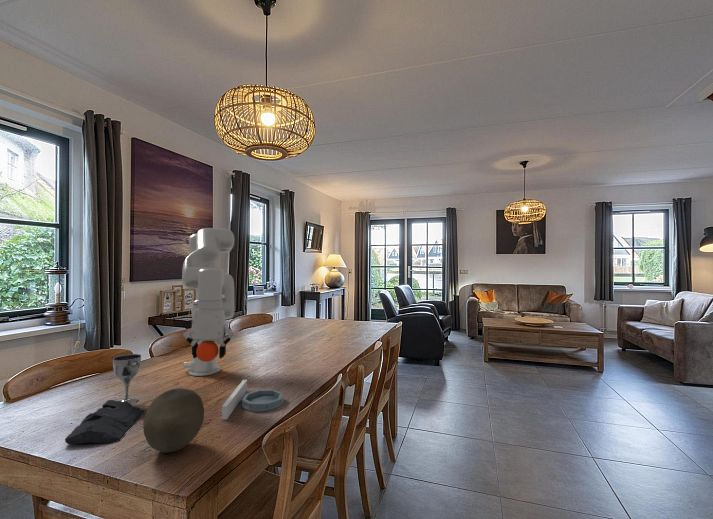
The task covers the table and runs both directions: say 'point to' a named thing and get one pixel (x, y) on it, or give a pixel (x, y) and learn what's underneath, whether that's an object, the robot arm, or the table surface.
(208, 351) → the clementine
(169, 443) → the cantaloupe
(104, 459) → the table surface
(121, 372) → the wine glass
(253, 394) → the grey shallow dish
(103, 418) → the dark slate chunk
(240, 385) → the low wall
